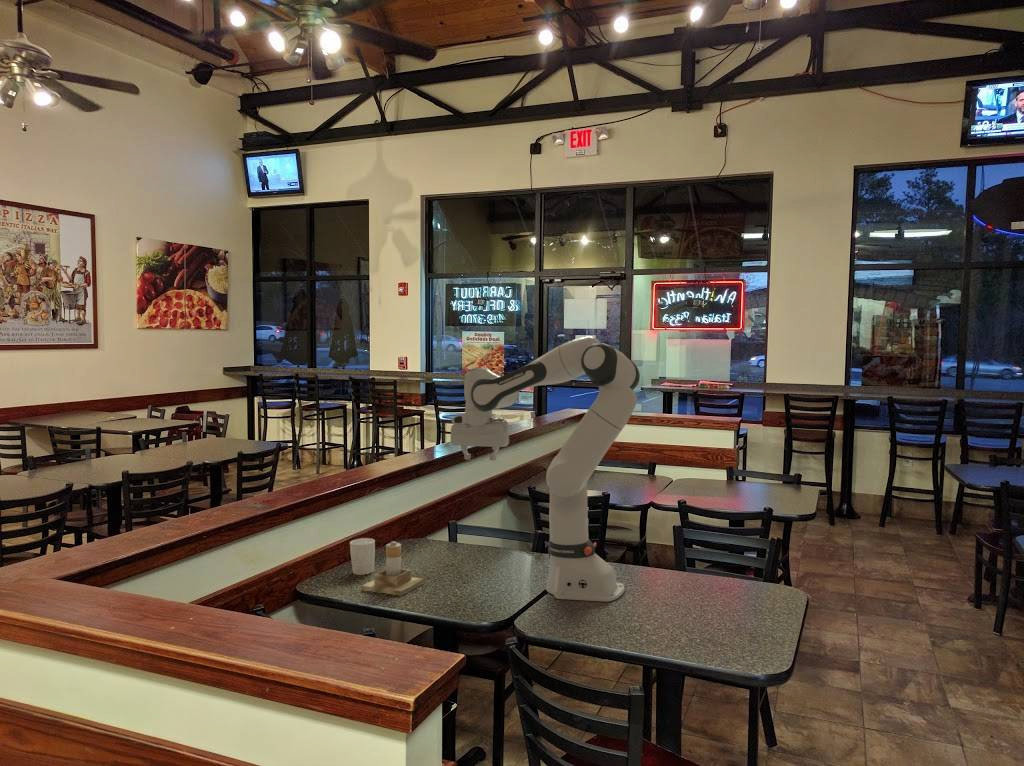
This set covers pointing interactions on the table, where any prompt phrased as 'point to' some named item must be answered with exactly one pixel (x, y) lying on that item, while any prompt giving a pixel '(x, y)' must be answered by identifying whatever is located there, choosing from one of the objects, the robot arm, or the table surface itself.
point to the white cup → (362, 555)
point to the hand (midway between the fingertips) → (480, 459)
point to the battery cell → (393, 559)
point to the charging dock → (393, 583)
